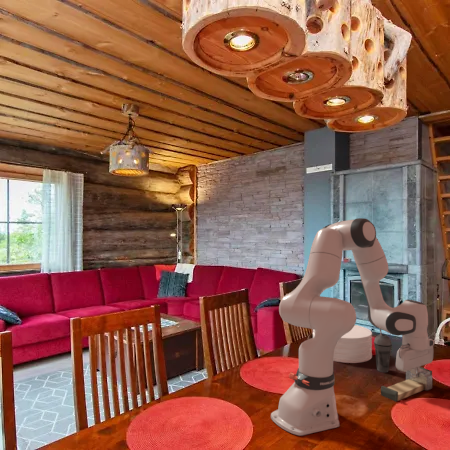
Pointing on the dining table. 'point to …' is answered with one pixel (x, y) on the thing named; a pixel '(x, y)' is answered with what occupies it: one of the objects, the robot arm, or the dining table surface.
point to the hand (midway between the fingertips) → (414, 377)
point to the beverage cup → (382, 352)
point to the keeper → (421, 378)
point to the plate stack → (353, 346)
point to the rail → (403, 389)
